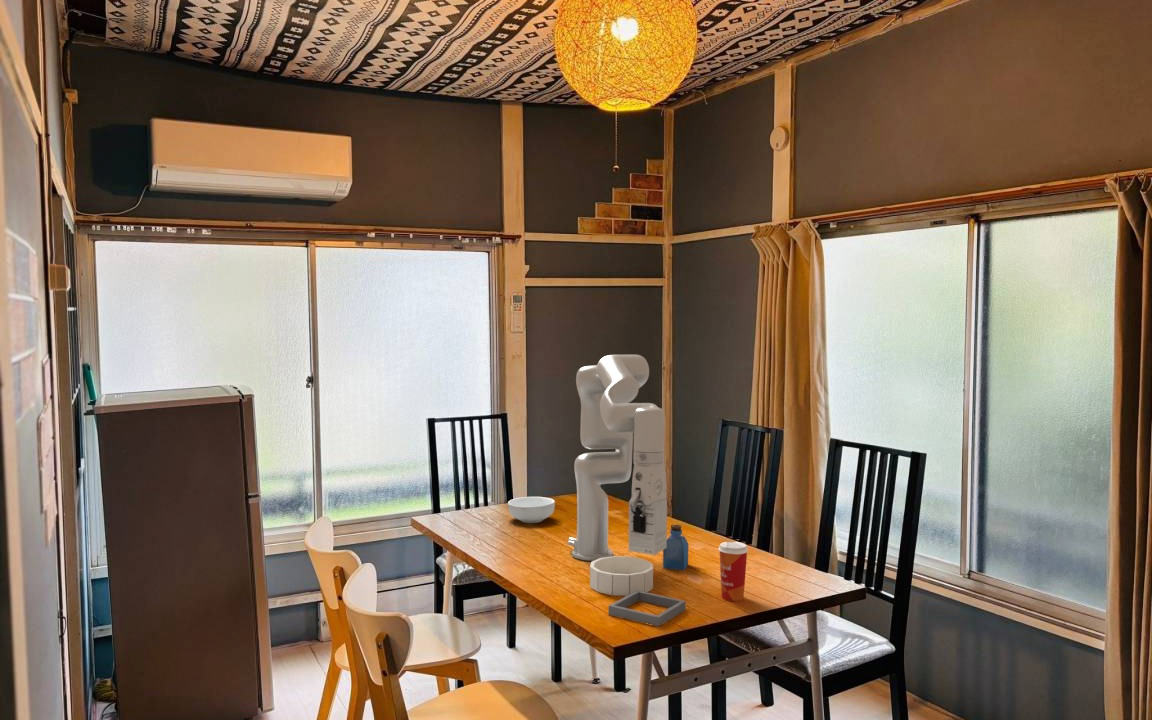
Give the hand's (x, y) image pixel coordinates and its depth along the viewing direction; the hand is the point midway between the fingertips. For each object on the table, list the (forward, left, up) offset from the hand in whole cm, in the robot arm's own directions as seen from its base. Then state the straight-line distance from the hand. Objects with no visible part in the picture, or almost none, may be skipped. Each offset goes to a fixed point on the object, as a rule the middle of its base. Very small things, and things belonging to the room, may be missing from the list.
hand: (647, 527), depth 205 cm
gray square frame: (0, 0, -21) cm, 21 cm away
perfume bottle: (-12, +38, -21) cm, 45 cm away
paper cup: (+13, +22, -21) cm, 33 cm away
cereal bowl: (-80, +57, -21) cm, 100 cm away
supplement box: (0, 0, -6) cm, 6 cm away
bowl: (-16, +14, -21) cm, 30 cm away
